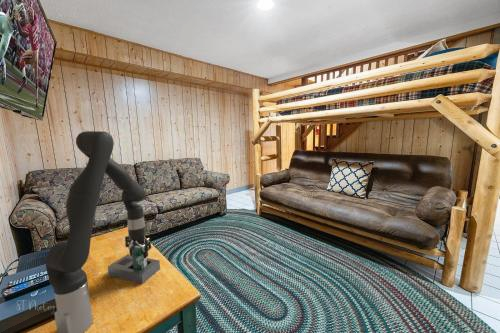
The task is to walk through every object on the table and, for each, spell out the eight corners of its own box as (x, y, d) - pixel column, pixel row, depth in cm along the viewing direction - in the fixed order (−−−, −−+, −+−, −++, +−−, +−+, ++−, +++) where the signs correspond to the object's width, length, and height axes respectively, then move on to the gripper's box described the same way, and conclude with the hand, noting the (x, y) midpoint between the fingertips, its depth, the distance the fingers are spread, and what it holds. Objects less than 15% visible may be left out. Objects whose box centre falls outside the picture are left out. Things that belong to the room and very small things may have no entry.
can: (142, 278, 106) (139, 250, 104) (131, 276, 107) (128, 249, 105) (150, 270, 112) (147, 244, 110) (140, 269, 113) (137, 243, 111)
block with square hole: (142, 283, 102) (141, 274, 101) (108, 275, 108) (107, 266, 107) (160, 269, 113) (159, 260, 112) (128, 262, 119) (127, 253, 119)
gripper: (119, 227, 104) (121, 258, 106) (141, 230, 100) (144, 262, 102) (131, 221, 111) (134, 250, 113) (153, 224, 107) (155, 254, 109)
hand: (139, 256), depth 108 cm, fingers open, 8 cm apart
